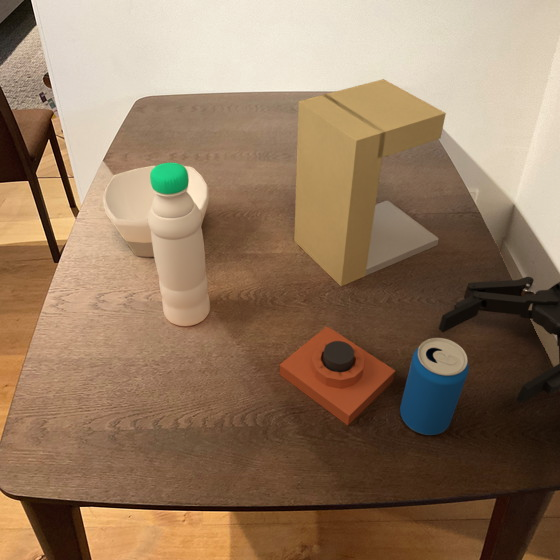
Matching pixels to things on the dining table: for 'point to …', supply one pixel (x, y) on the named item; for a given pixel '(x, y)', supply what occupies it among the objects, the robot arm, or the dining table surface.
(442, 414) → the beverage can
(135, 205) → the bowl
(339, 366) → the button
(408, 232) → the coffee maker
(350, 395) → the brew pad
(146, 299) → the dining table surface
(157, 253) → the water bottle
